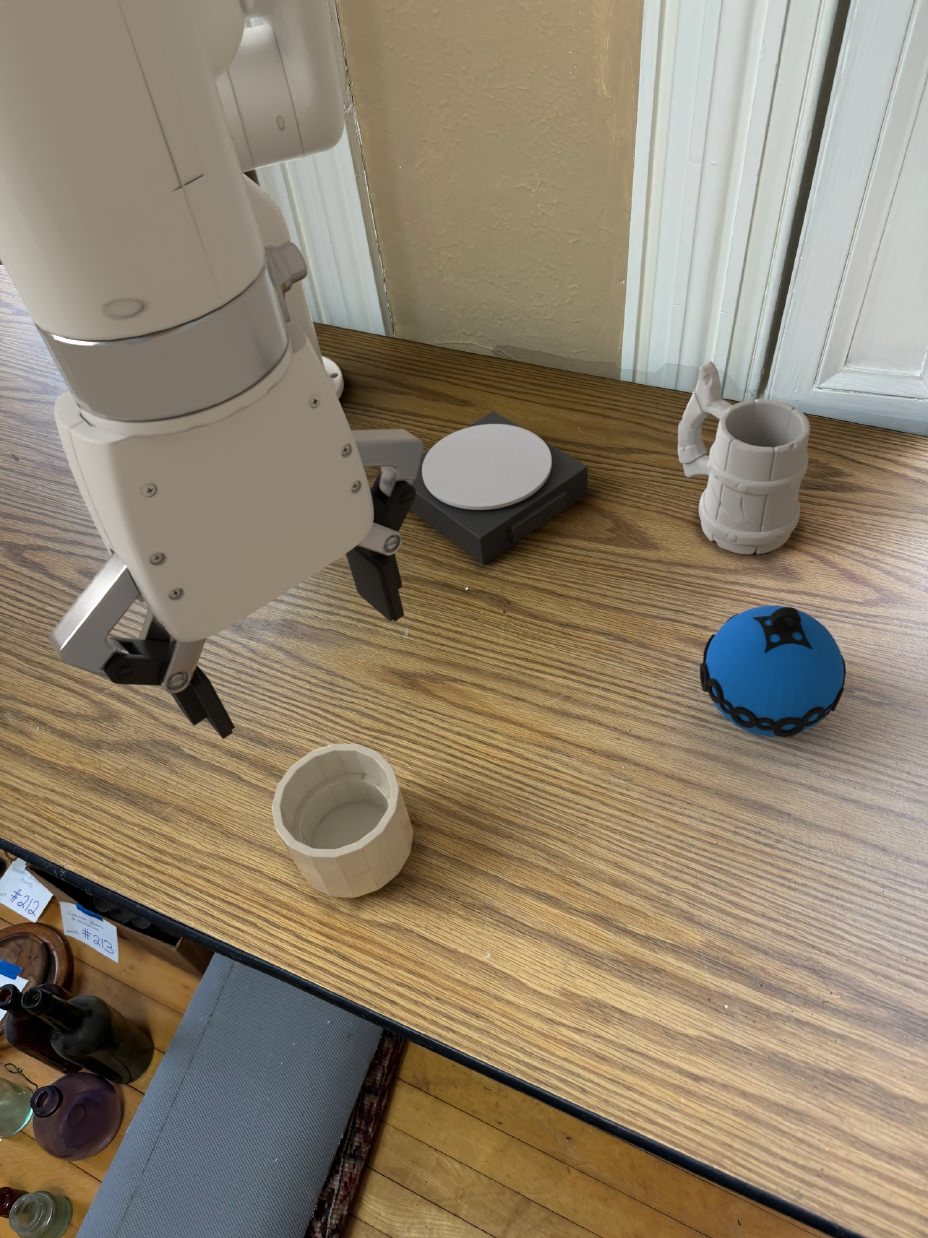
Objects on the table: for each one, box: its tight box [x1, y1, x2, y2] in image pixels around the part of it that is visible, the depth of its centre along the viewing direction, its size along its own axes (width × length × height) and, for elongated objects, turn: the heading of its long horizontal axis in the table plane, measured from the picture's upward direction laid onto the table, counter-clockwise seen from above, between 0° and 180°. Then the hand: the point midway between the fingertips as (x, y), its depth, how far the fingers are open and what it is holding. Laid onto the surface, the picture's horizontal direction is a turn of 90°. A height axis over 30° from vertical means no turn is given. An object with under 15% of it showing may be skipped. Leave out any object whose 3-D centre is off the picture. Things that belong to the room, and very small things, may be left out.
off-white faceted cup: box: [271, 743, 414, 899], centre depth 52 cm, size 7×7×6 cm
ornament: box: [699, 604, 847, 738], centre depth 54 cm, size 9×9×10 cm
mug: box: [677, 360, 811, 555], centre depth 66 cm, size 8×12×12 cm, turn 34°
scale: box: [409, 410, 589, 566], centre depth 73 cm, size 12×12×4 cm
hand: (301, 659), depth 41 cm, fingers open, 9 cm apart
